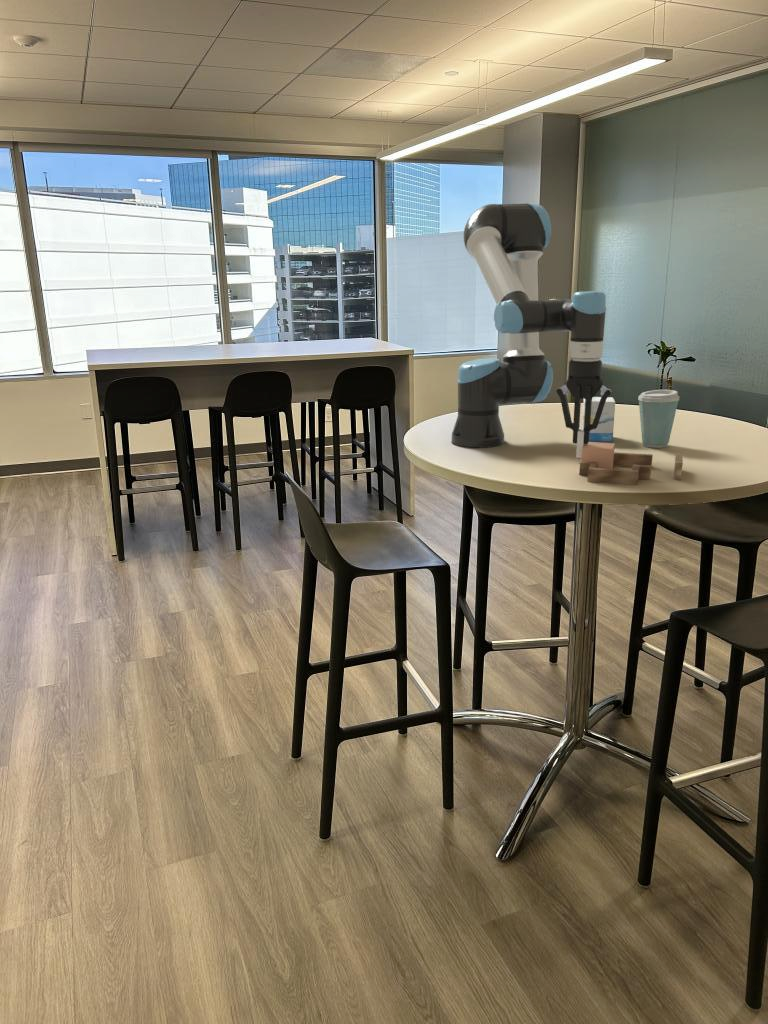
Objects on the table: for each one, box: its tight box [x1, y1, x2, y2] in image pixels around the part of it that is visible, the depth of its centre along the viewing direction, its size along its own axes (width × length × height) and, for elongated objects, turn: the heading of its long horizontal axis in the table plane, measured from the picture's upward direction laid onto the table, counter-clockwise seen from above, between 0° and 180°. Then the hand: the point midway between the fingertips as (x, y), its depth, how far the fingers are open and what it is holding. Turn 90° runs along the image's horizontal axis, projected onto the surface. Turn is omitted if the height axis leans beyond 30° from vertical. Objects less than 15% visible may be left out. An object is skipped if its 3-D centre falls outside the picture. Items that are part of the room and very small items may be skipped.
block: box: [580, 441, 616, 469], centre depth 183 cm, size 7×7×6 cm
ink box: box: [581, 396, 616, 443], centre depth 215 cm, size 8×8×12 cm
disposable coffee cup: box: [637, 389, 680, 449], centre depth 205 cm, size 11×11×15 cm
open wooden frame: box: [578, 451, 684, 486], centre depth 178 cm, size 23×18×4 cm
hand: (579, 456), depth 184 cm, fingers closed
